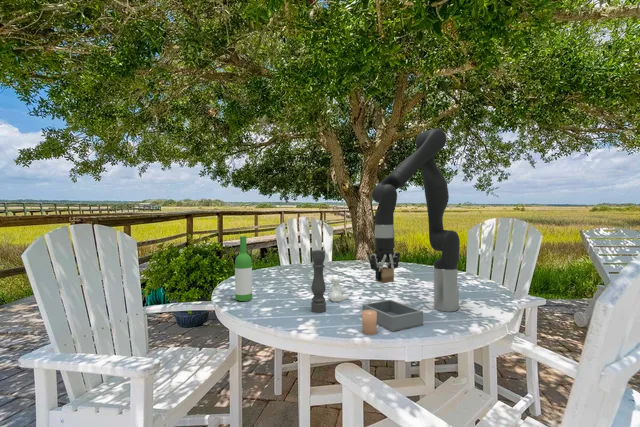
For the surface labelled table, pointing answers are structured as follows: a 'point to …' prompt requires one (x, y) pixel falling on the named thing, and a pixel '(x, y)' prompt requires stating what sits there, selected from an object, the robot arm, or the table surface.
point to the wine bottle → (243, 273)
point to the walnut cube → (386, 275)
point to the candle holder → (318, 282)
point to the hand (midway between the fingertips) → (384, 279)
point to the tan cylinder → (369, 322)
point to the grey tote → (395, 315)
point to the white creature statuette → (336, 290)
